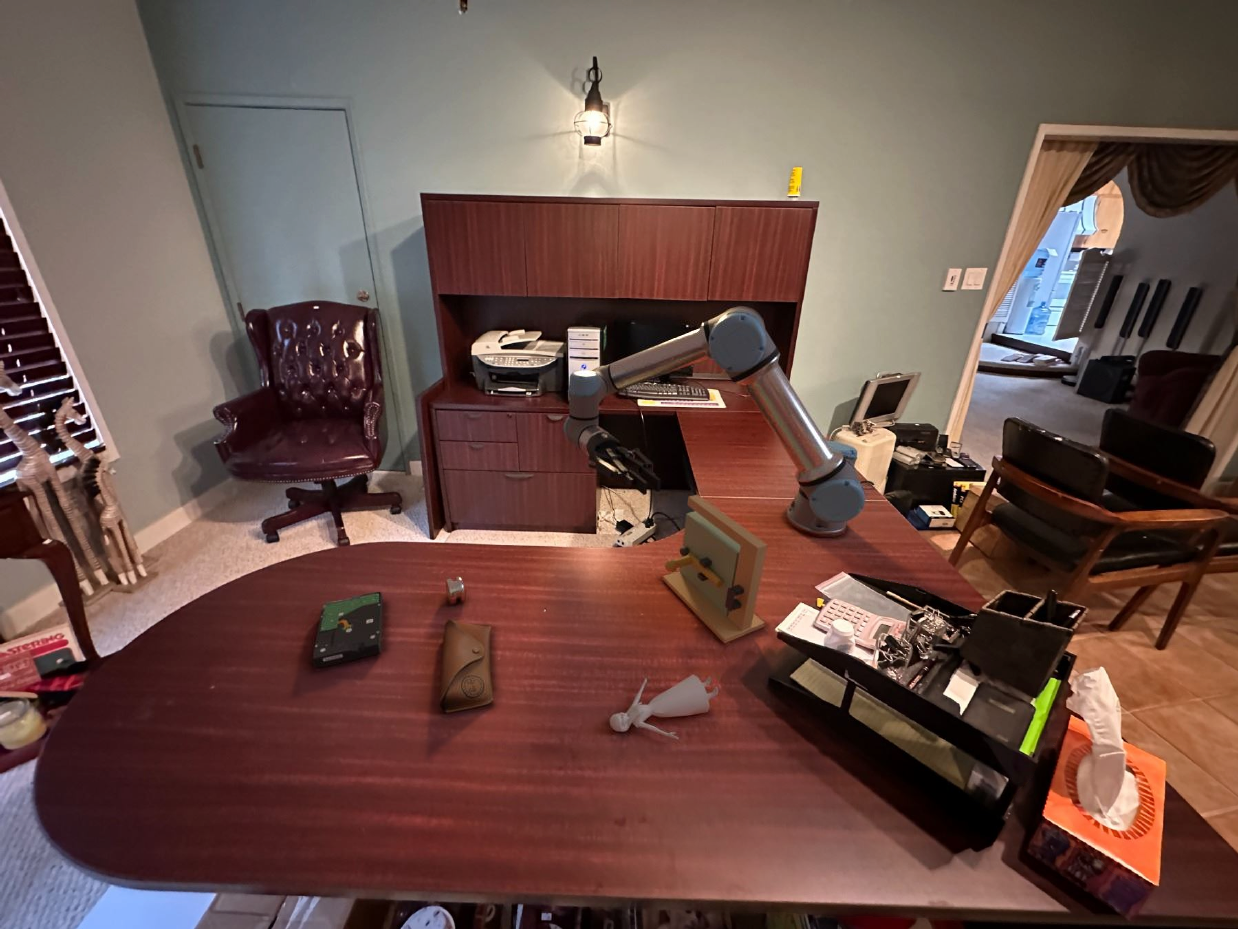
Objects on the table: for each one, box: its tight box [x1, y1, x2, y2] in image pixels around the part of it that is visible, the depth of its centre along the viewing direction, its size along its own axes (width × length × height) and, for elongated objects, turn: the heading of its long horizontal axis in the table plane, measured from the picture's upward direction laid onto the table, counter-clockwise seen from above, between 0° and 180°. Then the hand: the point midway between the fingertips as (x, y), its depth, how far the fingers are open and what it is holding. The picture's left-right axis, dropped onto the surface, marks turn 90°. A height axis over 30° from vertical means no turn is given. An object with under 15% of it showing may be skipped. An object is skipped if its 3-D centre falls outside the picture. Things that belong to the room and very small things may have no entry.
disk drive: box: [312, 591, 384, 669], centre depth 90 cm, size 10×3×15 cm
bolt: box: [664, 553, 723, 587], centre depth 99 cm, size 7×10×3 cm
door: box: [662, 494, 768, 644], centre depth 99 cm, size 10×21×20 cm, turn 29°
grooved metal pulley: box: [445, 575, 467, 605], centre depth 99 cm, size 5×3×5 cm, turn 29°
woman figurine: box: [609, 673, 719, 740], centre depth 77 cm, size 12×4×18 cm
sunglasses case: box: [438, 618, 495, 714], centre depth 84 cm, size 18×7×7 cm, turn 16°
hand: (652, 487), depth 101 cm, fingers open, 3 cm apart
